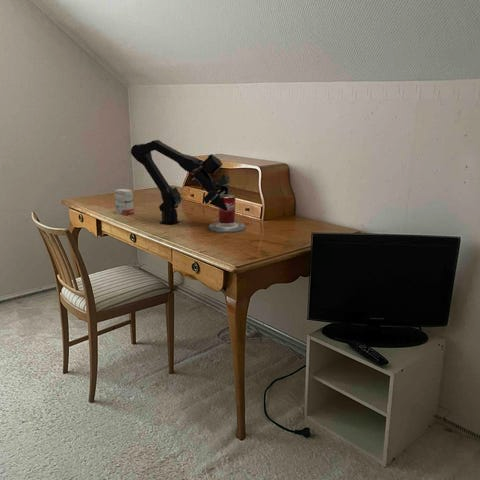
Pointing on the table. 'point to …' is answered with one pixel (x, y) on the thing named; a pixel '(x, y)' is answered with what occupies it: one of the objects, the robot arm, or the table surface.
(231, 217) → the soda can
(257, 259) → the table surface
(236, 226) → the dial plate
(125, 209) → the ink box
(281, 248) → the table surface
